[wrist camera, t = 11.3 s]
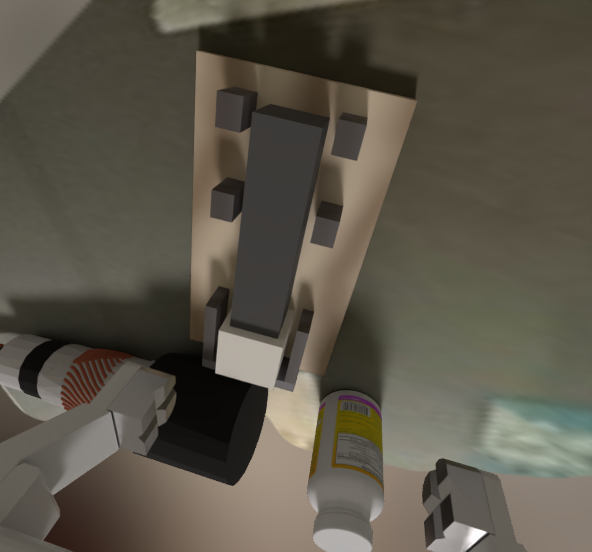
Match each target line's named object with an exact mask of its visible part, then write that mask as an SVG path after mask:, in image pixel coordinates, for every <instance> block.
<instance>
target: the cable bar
mask: <svg viewBox="0 0 592 552" xmlns="http://www.w3.org/2000/svg"><path fill="white" fill-rule="evenodd" d="M329 122H330V118H329V117H325V116H320V115H316V114H312V113H308V112H303V111H299V110H295V109H291V108H286V107H282V106H278V105H273V104H269V105H266V106H264V107H262V108H260V109H257V110H255V111H253V112H252V121H251V130H250V139H249V149H248V158H247V168H246V177H245V186H244V196H243V205H242V215H241V224H240V233H239V243H238V252H237V262H236V271H235V280H234V290H233V299H232V308H231V310H230V312H229V314H228V315H227V317H226V319H225V321H224V322H223V324H222V326H221V328H220V329H219V334H218V346H217V358H216V370H215V373H217V374H220V375H224V376H227V377H231V378H234V379H238V380H241V381H245V382H248V383H252V384H255V385H259V386H262V387H266V388H269V389H274V386H275V383H276V379H277V376H278V373H279V370H280V366H281V363H282V360H283V357H284V353H285V350H286V346H287V341H288V337H289V333H290V329H291V324H292V320H293V316H294V312H295V311H293V310H289V309H288V307H289V303H290V298H291V294H292V289H293V285H294V280H295V276H296V271H297V267H298V262H299V258H300V253H301V249H302V244H303V239H304V235H305V230H306V226H307V221H308V217H309V212H310V208H311V203H312V199H313V194H314V190H315V185H316V181H317V176H318V171H319V167H320V162H321V158H322V153H323V149H324V144H325V140H326V135H327V131H328V126H329Z"/></svg>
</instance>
